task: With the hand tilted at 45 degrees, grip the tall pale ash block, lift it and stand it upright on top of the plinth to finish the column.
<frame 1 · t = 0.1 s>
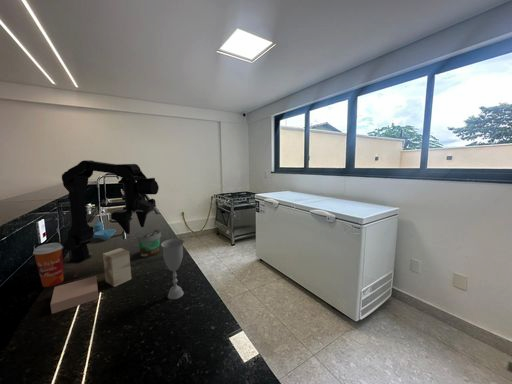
hand: (135, 230, 91), 15 cm above the worktop, tool pointing down, fingers open, 9 cm apart
plinth: (77, 297, 69), on the worktop
food container: (154, 254, 102), on the worktop
paper cup: (53, 283, 78), on the worktop
soap dispenser: (103, 238, 123), on the worktop
pillar: (118, 280, 79), on the worktop
chalice: (175, 294, 71), on the worktop
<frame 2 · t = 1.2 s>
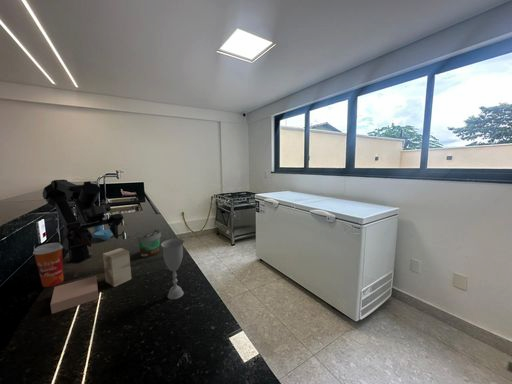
hand: (104, 242, 81), 13 cm above the worktop, tool tilted 45°, fingers open, 9 cm apart
nothing on the worktop moved.
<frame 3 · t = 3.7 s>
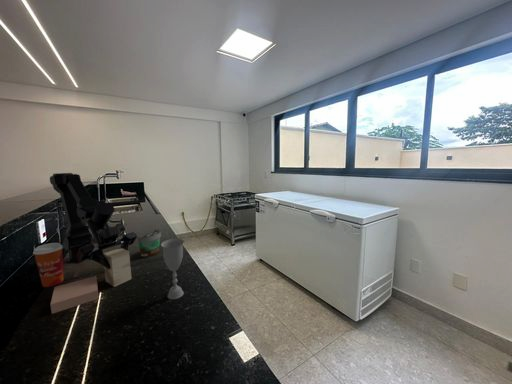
hand: (119, 264, 77), 7 cm above the worktop, tool tilted 45°, fingers closed on pillar, 6 cm apart
pillar: (118, 280, 79), on the worktop, touching gripper
everything else where it was.
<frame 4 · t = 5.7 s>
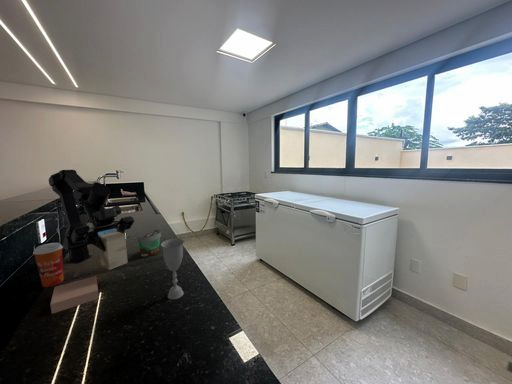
hand: (114, 247, 76), 13 cm above the worktop, tool tilted 45°, fingers closed on pillar, 6 cm apart
pillar: (114, 263, 77), point 7 cm above the worktop, touching gripper
everything else where it was.
when the fingers open (11 cm above the worktop, at t = 8.0 s): pillar drops 1 cm, resting on plinth.
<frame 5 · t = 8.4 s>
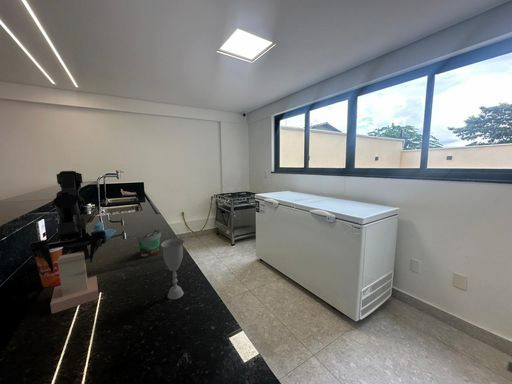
hand: (72, 266, 67), 11 cm above the worktop, tool tilted 45°, fingers open, 9 cm apart
pillar: (75, 288, 69), point 3 cm above the worktop, touching plinth
everything else where it was.
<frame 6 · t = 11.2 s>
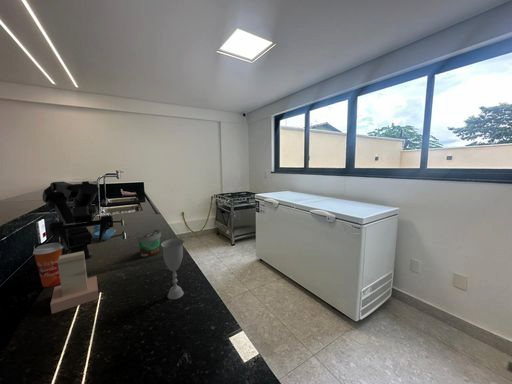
hand: (84, 244, 78), 13 cm above the worktop, tool tilted 45°, fingers open, 9 cm apart
nothing on the worktop moved.
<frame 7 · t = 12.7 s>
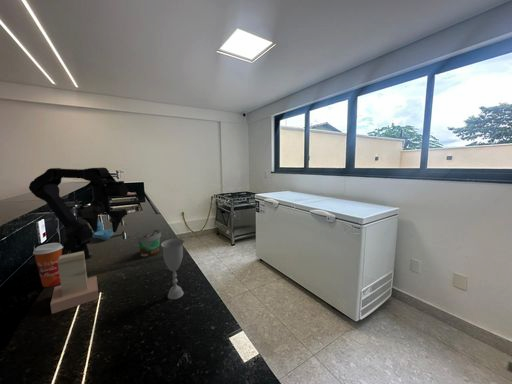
hand: (105, 231, 94), 13 cm above the worktop, tool pointing down, fingers open, 9 cm apart
nothing on the worktop moved.
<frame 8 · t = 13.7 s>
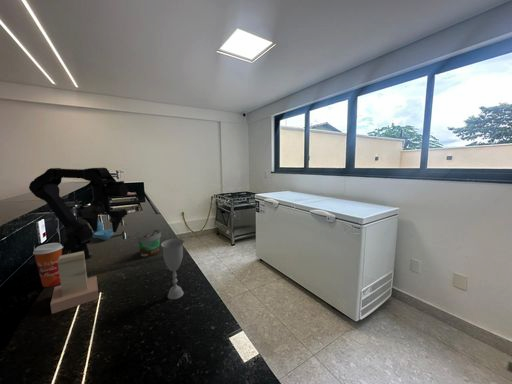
hand: (105, 231, 94), 13 cm above the worktop, tool pointing down, fingers open, 9 cm apart
nothing on the worktop moved.
at the end: pillar 0.0 cm off-centre on the plinth, point 3.0 cm above the plinth's base; pillar tilted 0°; the gripper is holding nothing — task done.
